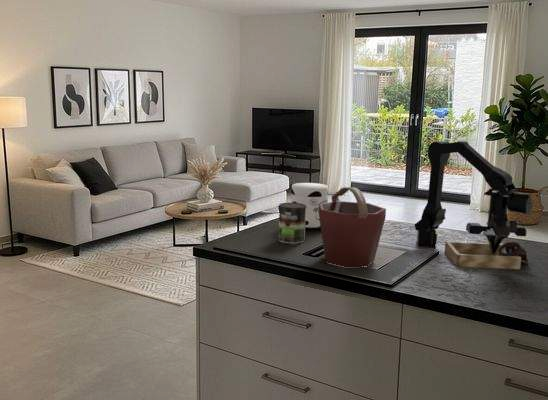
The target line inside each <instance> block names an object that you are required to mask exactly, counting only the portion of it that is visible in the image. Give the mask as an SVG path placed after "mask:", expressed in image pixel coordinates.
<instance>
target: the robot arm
mask: <svg viewBox="0 0 548 400" xmlns="http://www.w3.org/2000/svg"><path fill="white" fill-rule="evenodd" d="M452 153H453V154H454V153H458V154H459V155H460V156H461V157H462V158H463V159H465V161H467V162H468V163H469V164H470V165H471V166H473V168H475V169H476V171H478V172H479V173H480V174H481V175H482V176H483V179H484V181H485V182H486V184H487V185H488V186H489V187H490V188H488V190H487V191H486V192H484V196H489V207H488V210H487V215H488V216H487V221H486V225H481V224H480V223H479V222H468V223H467V224H466V225H465V226H466V227H465V230H466V232H467V233H469V234H470V235H481V234H483V235H484V237H486V239H487V241H488V243H489V245H490V248H491V252H492V254H495V252H496V250H497V248H498V247H499V245H500V244H502V242H503V241H504V240H505V239H507V238H509V236H510V234H515V236H516V237H527V229H526V227H524V226H522V225H521V224H518V222H517V220H508V216H509V215H508V214H507V213H508V210H509V212H511V213H516V214H517V213H518V214H521V215H522V214H523V215H530V214H531V212H532V210H533V206H534V203H533V198H532V194H531V193H529V192H527V193H523V192H519V191H518V189H517V187H516V186H515V184H514V182H513V177H512V175H511V174H510V173H508V172H506V171H505V170H503V169H501V168H499V167H497V166H496V165H495V166H494V165H493V164H492V163H490V162H489V161H488V160H487V159H486V158H485V157H483V156H482V154H480V153H479V152H478V151H477V150H476V149H475V148H473V146H471V145H470V144H469V143H468V141H466V140H460V141H459V140H458V141H456V142H448V141H445V140H441V141H440V140H438V141H433V142H431V143H430V144H429V145H428V147H427V155H428V156H427V157H428V160H429V163H430V173H429V181H428V182H429V184H428V193H427V202H426V205H425V206H424V209H422V210H423V211H422V214H421V218H420V219H419V220H418V222H416V223H414V228H415V231H416V232H417V233H416V235H417V236H416V241H415V244H416V245H417V247H420V248H436V247H437V242H438V241H437V238H438V234H437V232H436V231H437V229H439V227H440V225H442V224H443V222H444V220H446V211H447V209H446V208H443V207H442V203H441V202H442V194H443V186H444V185H443V183H444V174H445V167H446V164H447V162H448V160H449V159H450V155H451V154H452Z"/></svg>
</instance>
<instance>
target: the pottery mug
mask: <svg viewBox="0 0 548 400" xmlns="http://www.w3.org/2000/svg"><path fill="white" fill-rule="evenodd" d="M502 244H503V245H501V246H500V247H499V249H498V250H499V252H498V255H497V256H517V257H521V262H522V261H523V262H525V264H526V265H529V259H528V256H527V251H526V249H525V247H523V246H522V245H520V243H519V242H516V241H508V242H504V243H502ZM503 248H505V249H504V251H505V252H506V253H505V252H504V253H502V252H501V250H502V249H503Z"/></svg>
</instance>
